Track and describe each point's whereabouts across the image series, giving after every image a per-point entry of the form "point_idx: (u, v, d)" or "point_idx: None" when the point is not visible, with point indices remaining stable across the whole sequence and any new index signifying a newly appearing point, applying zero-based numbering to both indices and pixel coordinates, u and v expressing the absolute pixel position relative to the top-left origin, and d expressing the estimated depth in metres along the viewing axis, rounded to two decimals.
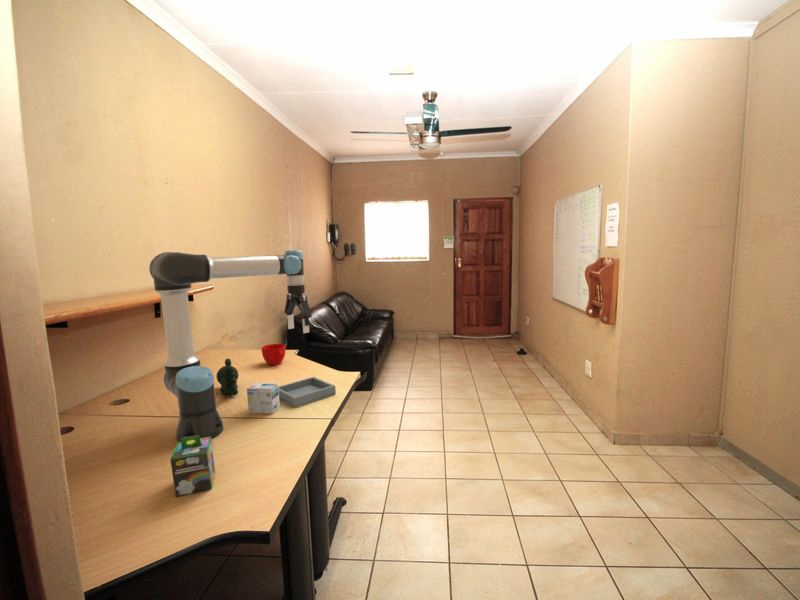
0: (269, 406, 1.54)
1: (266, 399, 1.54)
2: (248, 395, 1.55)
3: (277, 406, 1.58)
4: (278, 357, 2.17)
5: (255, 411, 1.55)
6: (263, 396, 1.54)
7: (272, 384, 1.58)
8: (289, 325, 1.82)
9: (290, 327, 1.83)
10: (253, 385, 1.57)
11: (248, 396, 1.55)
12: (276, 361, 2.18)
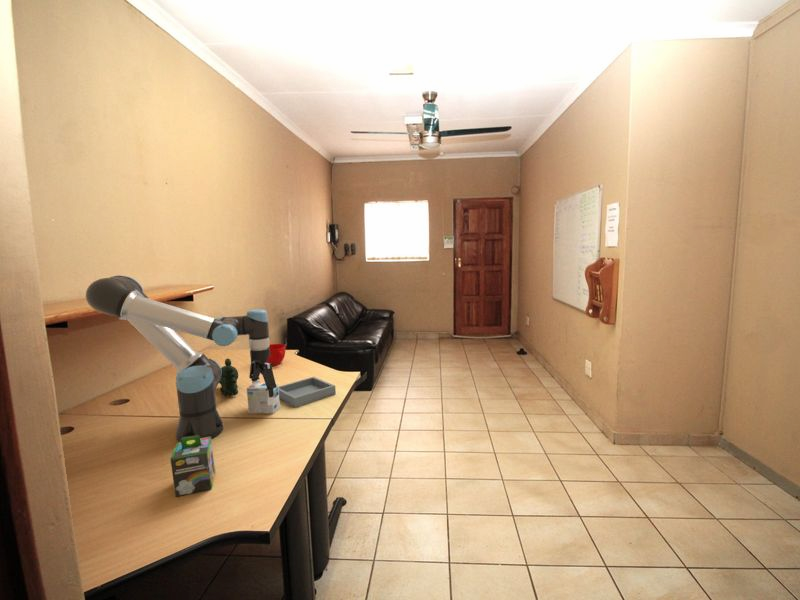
0: (269, 405, 1.54)
1: (266, 399, 1.54)
2: (248, 395, 1.55)
3: (277, 406, 1.58)
4: (278, 357, 2.17)
5: (255, 411, 1.55)
6: (263, 396, 1.54)
7: None
8: None
9: None
10: (253, 385, 1.57)
11: (248, 396, 1.55)
12: (276, 361, 2.18)
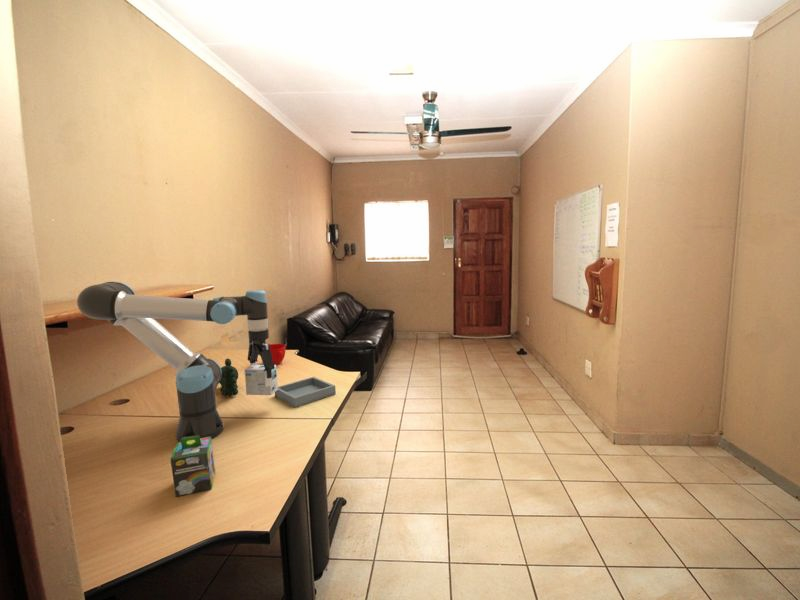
0: (267, 387, 1.53)
1: (264, 381, 1.53)
2: (246, 376, 1.54)
3: (275, 388, 1.57)
4: (278, 357, 2.17)
5: (253, 392, 1.54)
6: (261, 377, 1.53)
7: None
8: None
9: None
10: (251, 366, 1.56)
11: (246, 377, 1.54)
12: (276, 361, 2.18)
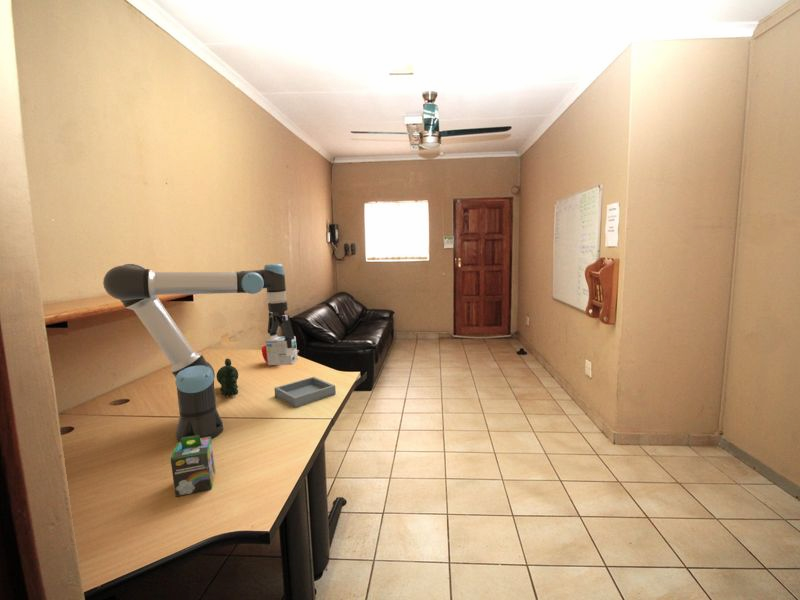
0: (287, 357, 1.59)
1: (284, 351, 1.59)
2: (267, 347, 1.59)
3: (295, 358, 1.63)
4: None
5: (274, 363, 1.60)
6: (281, 348, 1.58)
7: None
8: None
9: None
10: (271, 338, 1.62)
11: (267, 348, 1.59)
12: None
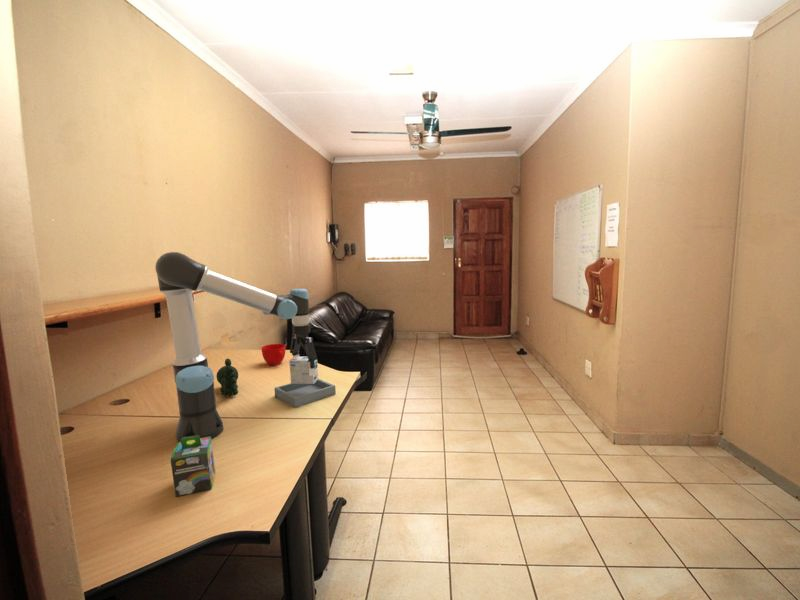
0: (309, 376, 1.69)
1: (307, 371, 1.68)
2: (291, 367, 1.69)
3: (316, 377, 1.73)
4: (278, 357, 2.17)
5: (297, 381, 1.70)
6: (304, 368, 1.68)
7: None
8: None
9: None
10: (294, 358, 1.71)
11: (291, 368, 1.69)
12: (276, 361, 2.18)
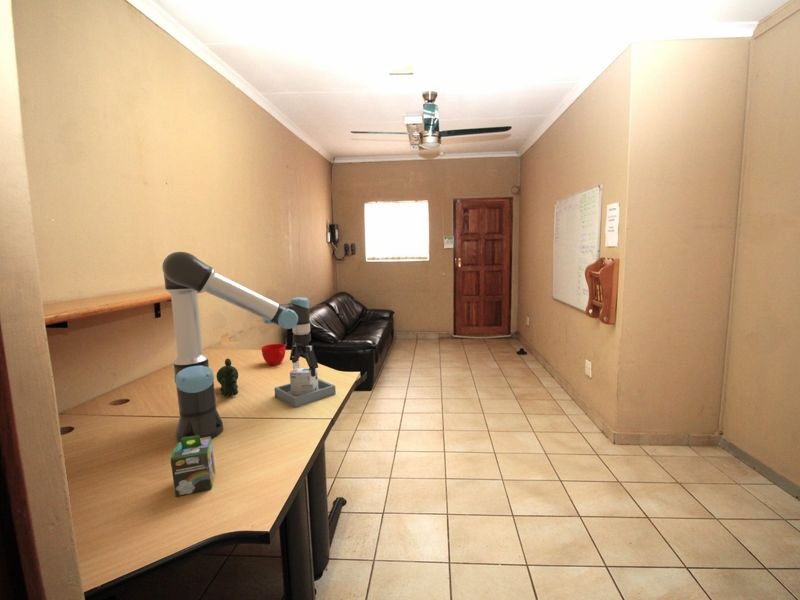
0: (310, 388, 1.69)
1: (307, 382, 1.69)
2: (291, 379, 1.70)
3: (316, 389, 1.73)
4: (278, 357, 2.17)
5: (297, 393, 1.70)
6: (304, 380, 1.69)
7: None
8: None
9: None
10: (295, 370, 1.72)
11: (291, 380, 1.70)
12: (276, 361, 2.18)
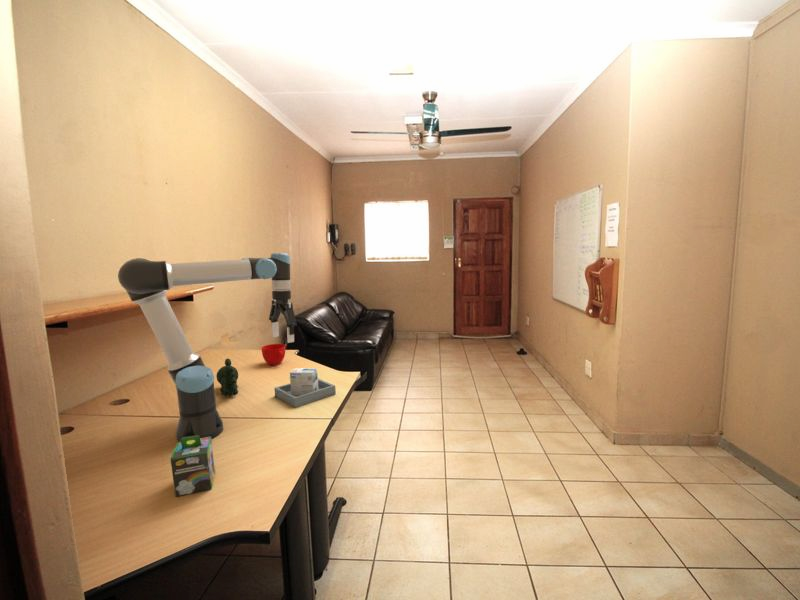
0: (310, 388, 1.69)
1: (307, 382, 1.69)
2: (291, 379, 1.70)
3: (316, 389, 1.73)
4: (278, 357, 2.17)
5: (297, 393, 1.70)
6: (304, 379, 1.69)
7: (312, 369, 1.73)
8: (273, 333, 1.70)
9: (274, 335, 1.70)
10: (295, 370, 1.72)
11: (291, 379, 1.70)
12: (276, 361, 2.18)
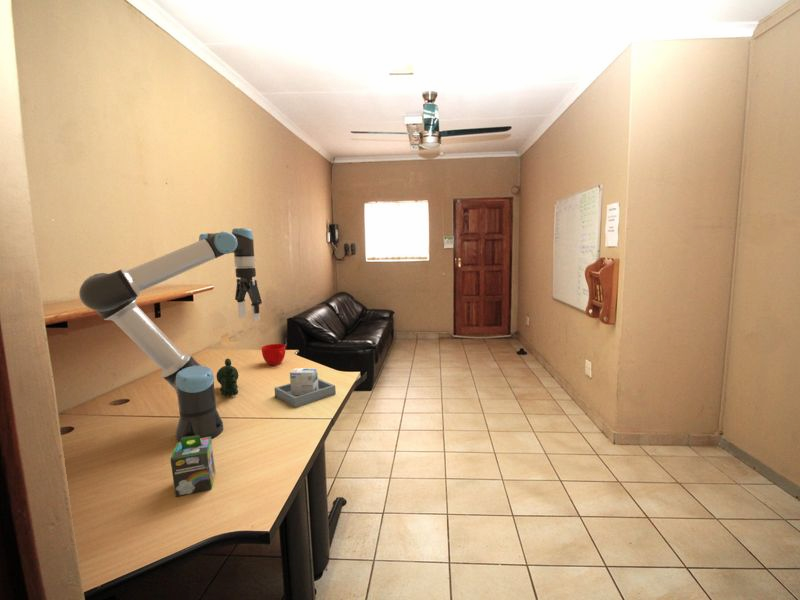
0: (310, 388, 1.69)
1: (307, 382, 1.69)
2: (291, 379, 1.70)
3: (316, 389, 1.73)
4: (278, 357, 2.17)
5: (297, 393, 1.70)
6: (304, 379, 1.69)
7: (312, 369, 1.73)
8: (240, 313, 1.63)
9: (241, 316, 1.63)
10: (295, 370, 1.72)
11: (291, 379, 1.70)
12: (276, 361, 2.18)
